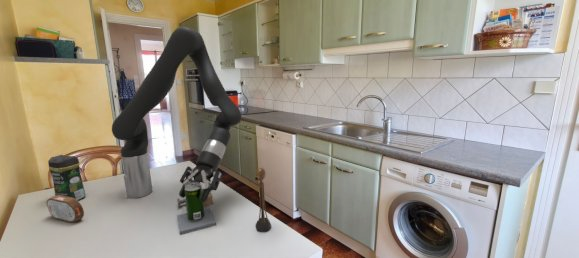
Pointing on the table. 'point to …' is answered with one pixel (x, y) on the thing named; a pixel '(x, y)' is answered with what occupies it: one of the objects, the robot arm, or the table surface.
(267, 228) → the wooden tabletop sculpture
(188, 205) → the beer can
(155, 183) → the table surface
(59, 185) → the coffee jar
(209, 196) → the light wood square frame
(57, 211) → the tin
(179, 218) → the slate mat
